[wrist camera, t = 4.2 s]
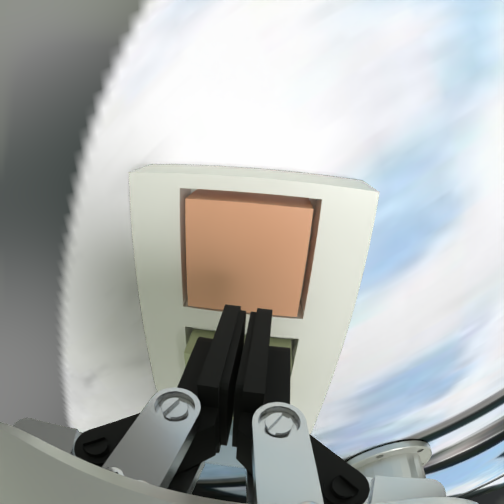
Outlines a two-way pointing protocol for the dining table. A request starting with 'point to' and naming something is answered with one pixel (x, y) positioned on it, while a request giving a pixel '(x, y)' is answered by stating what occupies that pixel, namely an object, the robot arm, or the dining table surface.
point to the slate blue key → (226, 454)
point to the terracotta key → (246, 250)
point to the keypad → (295, 328)
